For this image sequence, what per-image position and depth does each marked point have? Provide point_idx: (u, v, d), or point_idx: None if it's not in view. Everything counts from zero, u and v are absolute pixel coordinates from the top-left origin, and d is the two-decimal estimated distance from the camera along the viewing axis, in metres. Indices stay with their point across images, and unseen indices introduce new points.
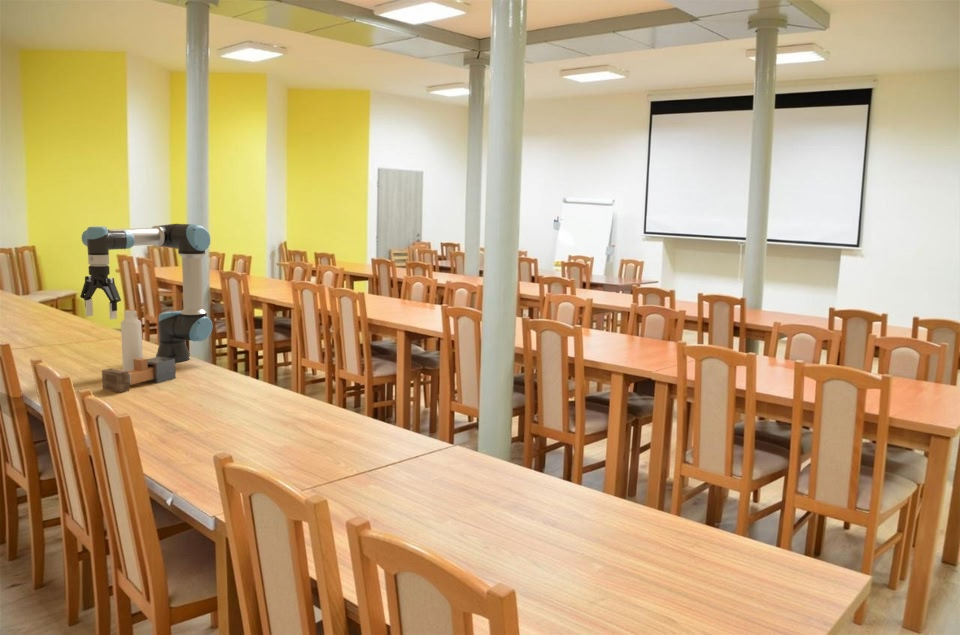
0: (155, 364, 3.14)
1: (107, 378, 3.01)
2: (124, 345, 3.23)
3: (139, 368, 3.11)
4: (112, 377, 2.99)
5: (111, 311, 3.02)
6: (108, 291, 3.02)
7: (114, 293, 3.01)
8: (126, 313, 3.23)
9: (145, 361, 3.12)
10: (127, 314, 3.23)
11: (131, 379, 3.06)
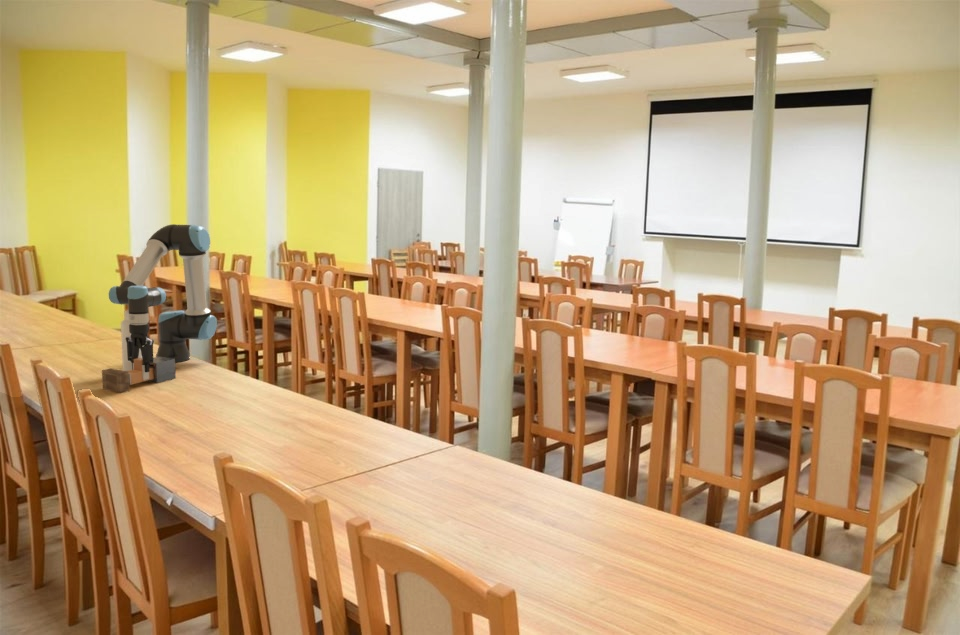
0: (155, 364, 3.14)
1: (107, 378, 3.01)
2: (124, 345, 3.23)
3: (139, 368, 3.11)
4: (112, 377, 2.99)
5: (144, 372, 3.11)
6: (144, 352, 3.10)
7: (149, 355, 3.09)
8: (126, 313, 3.23)
9: None
10: (128, 314, 3.23)
11: (131, 379, 3.06)
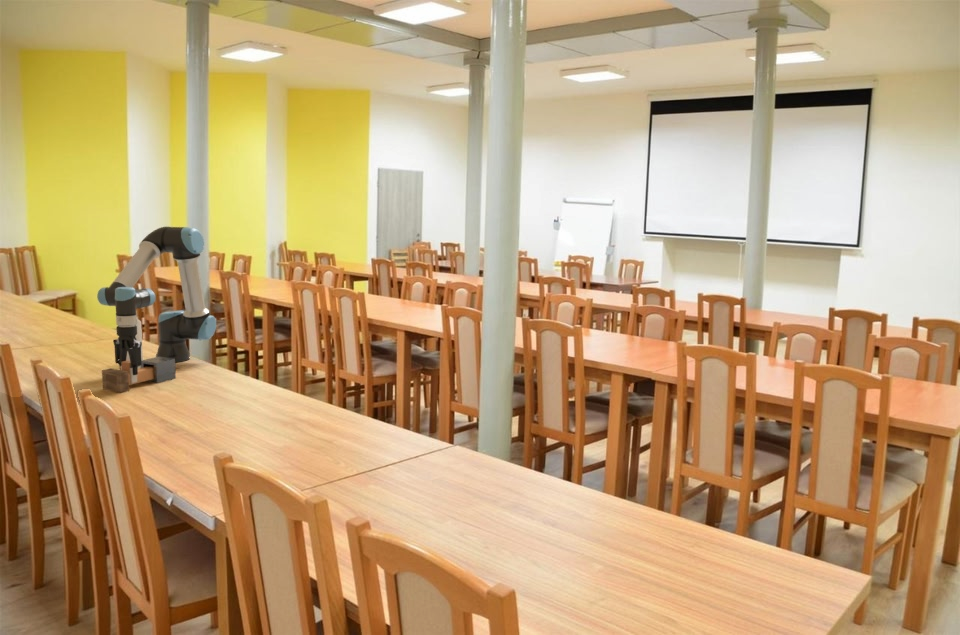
0: (155, 364, 3.14)
1: (107, 378, 3.01)
2: None
3: None
4: (112, 377, 2.99)
5: (132, 375, 3.05)
6: (132, 354, 3.04)
7: (137, 358, 3.03)
8: None
9: None
10: None
11: None
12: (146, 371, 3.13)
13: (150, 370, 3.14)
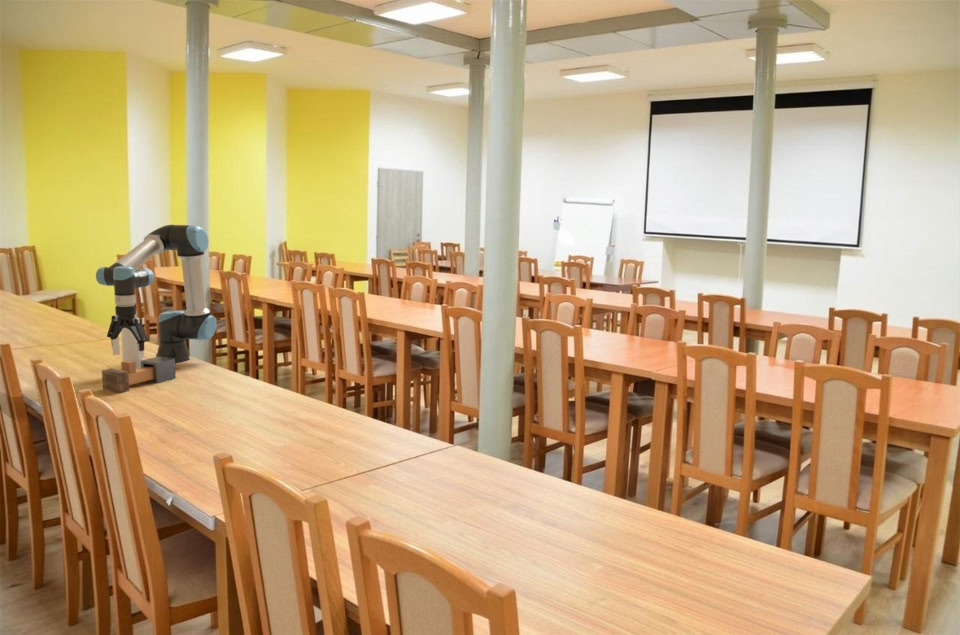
0: (155, 364, 3.14)
1: (107, 378, 3.01)
2: (124, 345, 3.23)
3: None
4: (112, 377, 2.99)
5: (138, 351, 3.02)
6: (135, 331, 3.02)
7: (141, 333, 3.00)
8: None
9: (133, 364, 3.06)
10: None
11: None
12: (146, 371, 3.13)
13: (150, 370, 3.14)
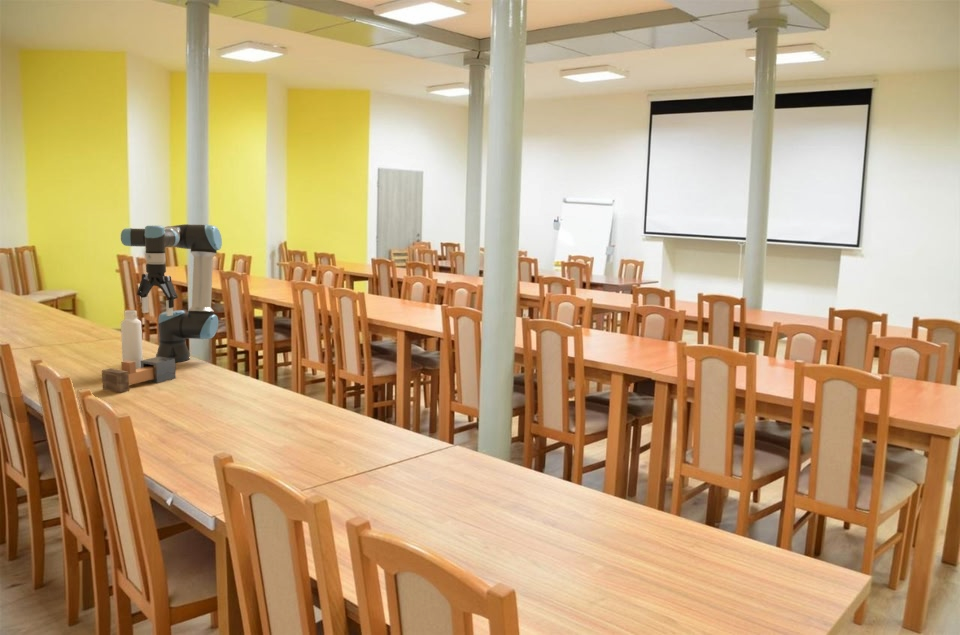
0: (155, 364, 3.14)
1: (107, 378, 3.01)
2: (124, 345, 3.23)
3: None
4: (112, 377, 2.99)
5: (168, 308, 3.10)
6: (165, 288, 3.10)
7: (171, 290, 3.08)
8: (126, 313, 3.23)
9: (133, 364, 3.06)
10: (127, 314, 3.23)
11: None
12: (146, 371, 3.13)
13: (150, 370, 3.14)
